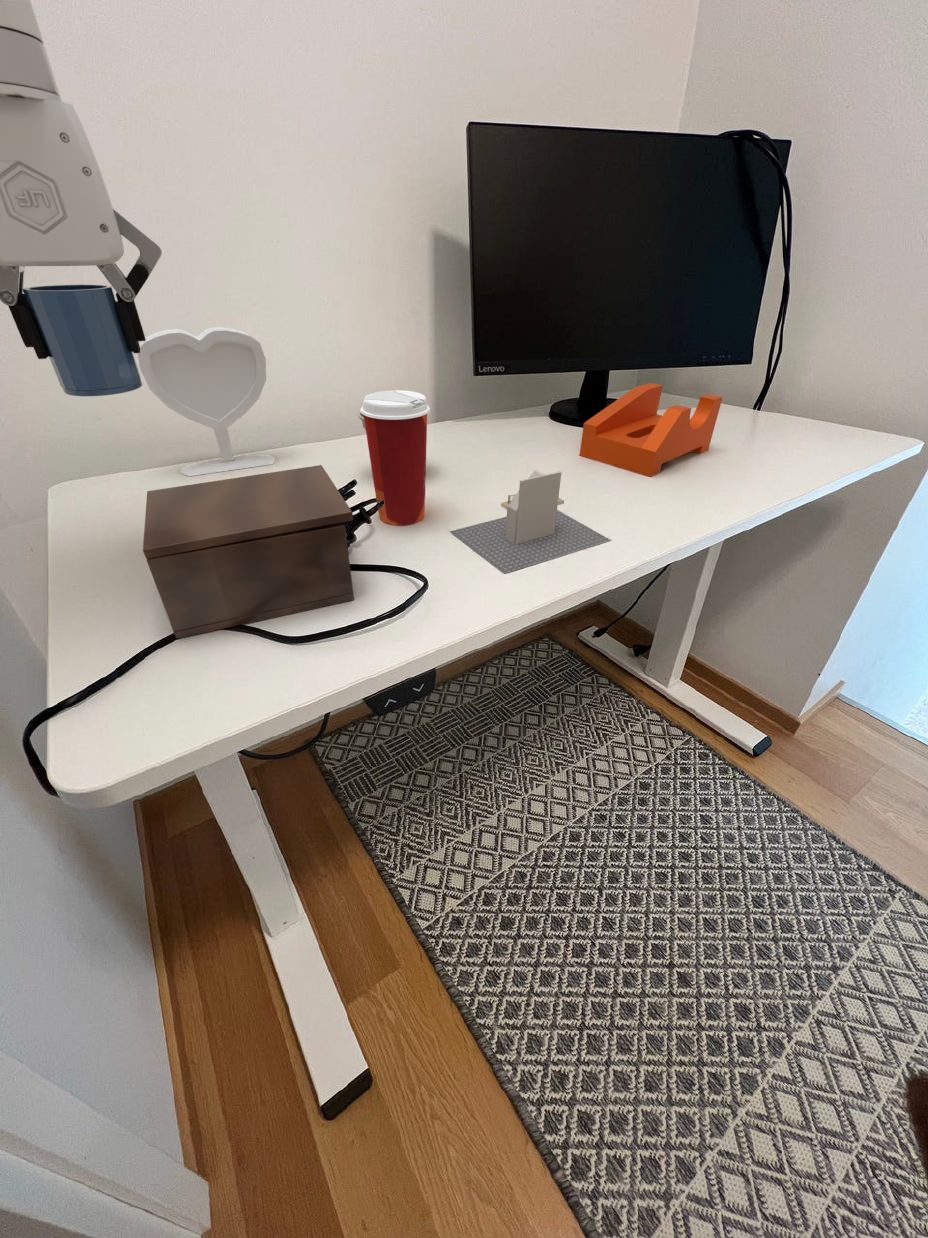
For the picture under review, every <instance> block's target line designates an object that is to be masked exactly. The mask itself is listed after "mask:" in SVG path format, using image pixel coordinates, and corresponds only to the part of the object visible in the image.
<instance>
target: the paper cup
mask: <svg viewBox="0 0 928 1238" xmlns="http://www.w3.org/2000/svg"><path fill="white" fill-rule="evenodd" d="M427 402H428V401H427V398H426V396H425V395H424V394H422V393H420V392H417V391H412V390H401V389H391V390H381V391H375V392H371V393H369V394H368V393H367V395H365V396H364V398H363V402H362V406H361V407H360V410H359V411H360V412H361V413H362V414H363V415H364V421H365V428H366V430H365V434H366V440H367V447H368V454H369V461H370V468H371V474H372V475H371V476H372V481H373V488H374V495H375V500H384V504H383V506H382V507H381V508H380V509H379V510H378V509H377V512H378V518H379V519H380V521H381V522H383V523H385V524H387V525H391V526H410V525H414V524H416V523H419V522H421V521H422V520H423V519H424V517H425V507H426V484H427V483H426V481H427V479H426V477H427V476H426V475H427V445H428V444H427V441H428V414H429V413H430V412H431V408H430V406H429V405H428V403H427ZM365 428H364V429H365ZM378 503H380V501H376V505H377V504H378Z"/></svg>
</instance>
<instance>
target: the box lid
mask: <svg viewBox="0 0 928 1238" xmlns="http://www.w3.org/2000/svg"><path fill="white" fill-rule="evenodd" d="M353 514H354V513H353V511H352V509H351V507H350V506H349V505H348V503H347V502H346V500H345V498H344V497H343V495H342V494H341V492H340V490H339V489H338V488H337V486H336V485H335V483H334V482H333V480H332V479H331V477H330V475H329V474H328V473H327V471H326V470H325V468H324V466H323V465H322V464H319V465H313V466H304V467H299V468H298V467H297V468H291V469H286V470H278V471H272V472H266V473H260V474H259V473H257V474H252V475H246V476H239V477H238V476H237V477H232V478H227V479H226V478H225V479H219V480H213V481H212V480H211V481H205V482H199V483H192V484H186V485H179V486H173V487H167V488H166V487H165V488H159V489H153V490H152V489H151V490H147V491H146V501H145V513H144V515H145V516H144V527H143V528H144V529H143V540H142V541H143V544H142V552H143V554H144V557H145V559H146V560H147V559H148V558H154V557H159V556H164V555H170V554H175V553H180V552H186V551H191V550H196V549H201V548H207V547H212V546H217V545H223V544H228V543H233V542H239V541H244V540H249V539H255V538H260V537H265V536H271V535H276V534H281V533H287V532H292V531H297V530H303V529H308V528H313V527H319V526H324V525H329V524H335V523H340V522H343V523H345V522H351V521H354V515H353Z"/></svg>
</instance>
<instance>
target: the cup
mask: <svg viewBox="0 0 928 1238" xmlns="http://www.w3.org/2000/svg"><path fill="white" fill-rule="evenodd" d="M23 294H24V295H25V297H26V300H27V302H28V305H29V307H30V309H31V312H32V314H33V317H34V319H35V322H36V324H37V327H38V330H39V332H40V335H41V337H42V340H43V342H44V345H45V347H46V350H47V352H48V355H49V357H48V358H49V360H50V362H51V365H52V367H53V370H54V373H55V375H56V378H57V380H58V383H59V385H60V387H61V389H62V391H63V393H64V394H66V395H68V396H75V397H104V396H113V395H119V394H120V395H121V394H125V393H128V392H133V391H136V390H138V389H140V388H141V387H142V386H143V381H142V377H141V373H140V372H139V371H140V370H139V367H138V365H137V361H136V358H135V355H134V353H133V352H131V351H130V348H129V345H128V342H127V339H126V336H125V333H124V329H123V326H122V323H121V320H120V317H119V314H118V311H117V307H116V303H117V301H118V300H117V297H116V293H115V290H114V288H113V287H112V285H108V284H82V283H81V284H53V285H37V286H29V287H28V286H27V287H23Z"/></svg>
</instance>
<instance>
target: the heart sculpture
mask: <svg viewBox="0 0 928 1238" xmlns="http://www.w3.org/2000/svg"><path fill="white" fill-rule="evenodd" d="M145 339H146V341H139V345H140V353H137V358H138V365H139V371H141V374H142V376H143V378H144V380H145V382H146V384H147V386H148V388H149V390H150V391H151V393H152V394H154V395H155V396H156V397H157V398H158V399H159V400H160V401H161V402H162V403H163V404H164V405H165V406H166V407H167V408H168V409H170V410H172V411H174V412H175V413H177V414H179V415H181V416H182V417H184V418H186V419H188V420H190V421H193V422H195V423H198V424H199V425H202V426H206V427H207V428H210V429H212V430H213V431H214V435H215V439H216V443H217V447H218V451H219V455H220V458H217V459H210V460H206V461H199V462H193V463H190V464H189V463H188V464H186V465H185V466H184V465H183V466H182V467H181V469H180V470H179V473H181V474H182V475H184V476H187V477H193V476H200V475H209V474H214V473H215V474H216V473H222V472H228V471H235V470H242V469H247V468H248V469H249V468H256V467H262V466H263V467H264V466H268V465H269V466H270V465H273V464H274V463H275V461H276V459H277V458H276V457H275V456H273V455H270V454H267V453H259V454H249V455H240V456H234V452H233V447H232V443H231V439H230V435H229V430H228V429H229V428H230V427H231V426H232V425H233V424H235V423H236V422H237V421H239V419H241V418H242V417H243V416H245V415H246V414H247V413H248V412H249V410H250V409H251V408H252V407H253V406H255V404H256V403H257V401H258V400H259V399H260V397H261V394H262V392H263V389H264V387H265V384H266V382H267V360H266V356H265V354H264V350H263V348H262V344H261V342H260V341H259V340H257V339H256V338H255V337H253V336H252V335H250V334H249V333H248V332H245V331H242V330H239V329H237V328H236V329H235V328H231V327H225V326H210V327H208V328H206V329H204V330H203V331H201V333H199V334H198V335H197V336H196V335H195V334H193V333H191V332H188V331H187V330H184V329H180V328H173V329H172V328H170V329H164V330H161V331H157V332H154V333H152V334H150V335H148V336H145Z"/></svg>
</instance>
